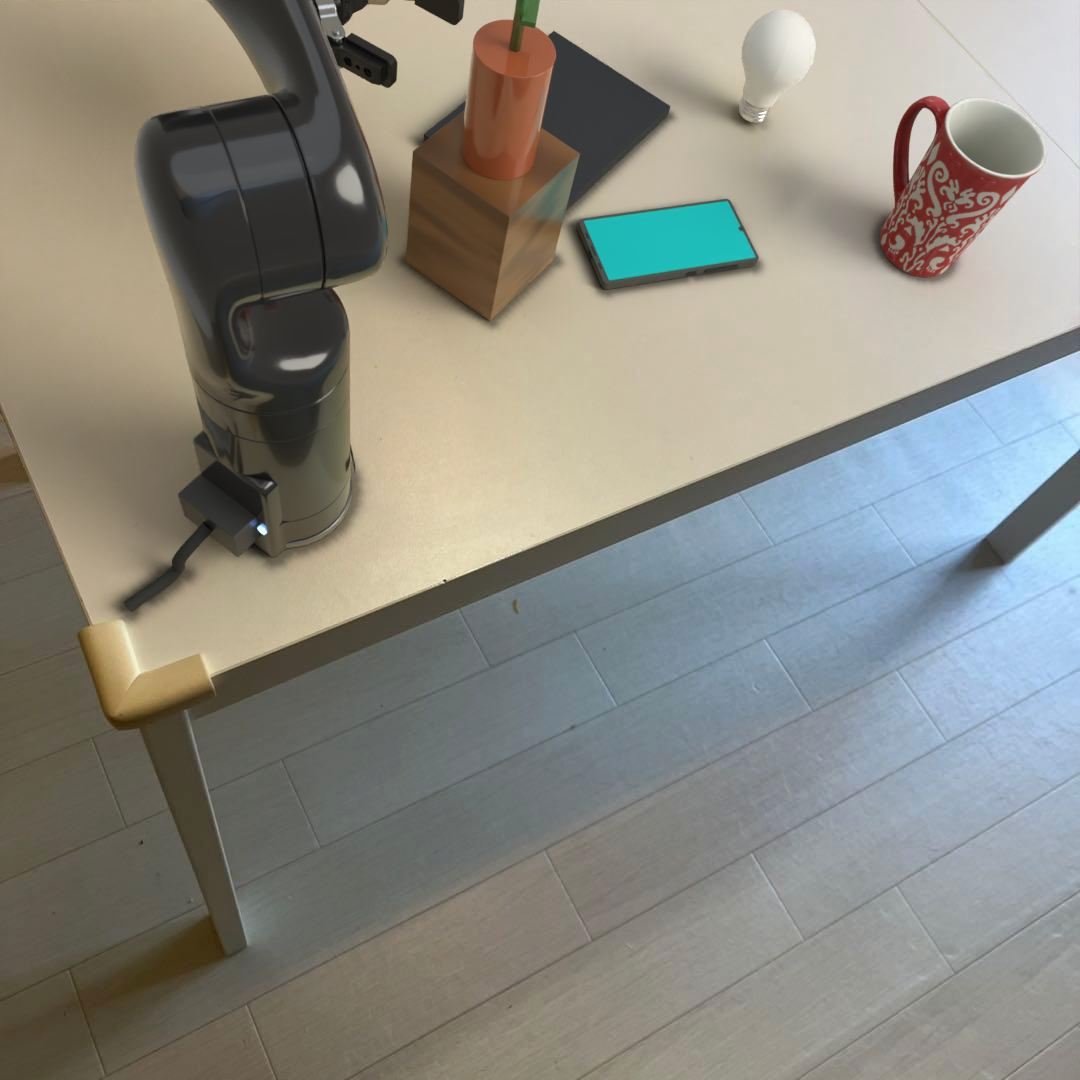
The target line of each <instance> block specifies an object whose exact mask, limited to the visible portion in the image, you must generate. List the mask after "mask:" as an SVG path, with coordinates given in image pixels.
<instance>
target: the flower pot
mask: <svg viewBox="0 0 1080 1080" xmlns="http://www.w3.org/2000/svg"><path fill="white" fill-rule="evenodd" d="M540 3H541V0H515V4H514V5H515V6H514V12H513V19H497V20H493V21H490V22H487V23H485V24H484V25H482V26H481V27H480V28H479V29H478V30H477V31H476V33H474V36H473V40H472V48H471V56H470V65H469V72H468V73H469V74H468V81H467V89H466V90H467V91H466V98H465V101H466V106H465V114H464V123H463V131H462V139H461V154H462V157H463V159H464V161H465V162H466V163H467V165H468V166H469V167H470V168H471V169H473V170H474V171H475V172H477V173H478V174H480V175H482V176H485V177H488V178H491V179H496V180H510V179H515V178H518V177H521V176H523V175H524V174H526V173H527V172H528V171H529V170H530V169H531V168H532V166H533V164H534V161H535V157H536V152H537V147H538V142H539V137H540V132H541V127H542V123H543V118H544V113H545V108H546V103H547V98H548V93H549V88H550V84H551V79H552V74H553V69H554V64H555V59H556V50H555V47H554V44H553V42H552V41H551V39H550V38H549V37H548V34H546V32H544V31H543V30H542V29H540V28H539V27H536V26H537V20H538V16H539V8H540Z"/></svg>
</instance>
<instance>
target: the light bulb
mask: <svg viewBox="0 0 1080 1080" xmlns="http://www.w3.org/2000/svg"><path fill="white" fill-rule="evenodd" d="M816 41H817V40H816V36H815V33H814V30H813V28H812V26H811V24H810V23H809V22H808V20H806V18H805V17H803V15H801V14H799V13H798V12H795V11H792V10H788V9H777V10H772V11H769V12H767V13H764V14H763V15H762V16H760V17H759V18H757V19H756V20H755V21H754V22H753V23H752V24H751V26H750V27H749V29H748V30H747V32H746V34H745V36H744V39H743V41H742V46H741V63H742V66H743V72H744V77H745V81H744V85H743V87H742V96H741V99H740V101H739V104H738V113H739V114H740V116H741V117H742V118H743V119H744V120H745V121H748V122H750V123H754V124H755V123H756V124H758V123H762V122H763V121H765V120H766V119H767V117H768V115H769V112H770V111H771V108H772V106H773V105H774V104H775V103H776V102H777V100H778V99H779V97H780V95H782V94H783V93H784V92H785V91H787V90H788V89H790V88H791V87H793V86H795V85H797V84H798V83H799V82H801V80H803V79H804V77H805V76H806V75H807V74H808V72H809V71H810V69H811V68H812V66H813V63H814V60H815V56H816V51H817V43H816Z"/></svg>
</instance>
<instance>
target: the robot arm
mask: <svg viewBox="0 0 1080 1080" xmlns="http://www.w3.org/2000/svg"><path fill="white" fill-rule="evenodd" d="M206 1H207V2H208V4H209V5H210V6H211V7H212V8H213V9H214V10H215V12H216V13H217V14H218V16H219V17H220V18H221V19H222V20H223V22H224V23H225V24H226V26H227V27H228V28H229V30H230V31H231V33H232V34H233V35H234V37H235V38H236V40H237V41H238V43H239V45H240V46H241V47H242V49H243V51H244V52H245V54H246V56H247V57H248V59H249V61H250V63H251V65H252V66H253V68H254V69H255V71H256V73H257V75H258V77H259V79H260V81H261V83H262V85H263V87H264V88H265V91H266V93H267V94H261V95H255V96H250V97H244V98H239V99H233V100H227V101H221V102H215V103H209V104H205V105H197V106H191V107H186V108H180V109H175V110H168V111H164V112H159V113H157V114H154V115H151V116H149V117H148V118H146V119H145V120H144V122H143V123H142V124H141V125H140V127H139V129H138V131H137V134H136V139H135V143H134V171H135V176H136V182H137V188H138V192H139V198H140V201H141V205H142V208H143V211H144V215H145V219H146V221H147V225H148V228H149V232H150V234H151V238H152V241H153V243H154V246H155V249H156V252H157V256H158V258H159V261H160V263H161V264H160V265H161V267H162V270H163V273H164V276H165V279H166V282H167V285H168V287H169V291H170V294H171V299H172V302H173V306H174V310H175V315H176V319H177V323H178V327H179V331H180V335H181V340H182V345H183V350H184V355H185V359H186V362H187V366H188V370H189V373H190V378H191V382H192V386H193V390H194V395H195V399H196V403H197V408H198V411H199V412H198V413H199V416H200V421H201V425H202V428H203V429H202V430H201V431H199V432H198V433H197V434H196V435H194V437H193V438H192V445H193V448H194V452H195V456H196V460H197V464H198V468H199V471H200V473H199V474H198V475H197V476H196V477H195V478H193V479H192V480H191V481H190V482H189V483H188V484H187V485H186V486H185V487H184V488H182V489H181V490H180V491H179V492H178V493H177V497H178V499H179V503H180V506H181V509H182V512H183V515H184V517H186V518H187V519H188V520H189V521H191V522H192V523H193V524H194V525H196V526H197V528H196V529H195V531H194V532H193V533H191V535H190V536H189V537H188V538H187V539H185V541H184V542H183V543H182V545H181V546H180V547H179V548H178V549H177V551H176V552H175V553H174V555H173V557H172V558H171V566H170V567H169V568H168V569H167V570H166V571H165V572H163V573H162V574H161V575H160V576H158V578H156V579H155V580H153V581H152V582H151V583H149V584H148V585H147V586H144V587H143V588H141V589H140V590H139V591H137V592H135V593H134V594H132V595H131V596H129V597H128V598H127V599H126V600H124V601H123V602H122V603H123V605H124V607H125V608H127V609H128V611H130V612H131V613H133V612H134V611H135V610H137V609H138V608H140V607H141V606H142V605H144V604H146V603H147V602H148V601H150V600H152V599H153V598H154V597H156V596H157V595H159V594H160V593H162V592H163V591H164V590H166V589H167V588H168V587H169V586H171V585H172V584H174V583H175V581H176V580H177V579H178V578H179V577H180V576H181V575H182V574H183V572H184V571H185V569H186V562H187V561H188V559H189V558H190V557H191V556H192V555H193V553H194V552H195V551H196V550H197V549H198V548H199V547H200V545H201V544H202V543H203V542H204V541H205V540H206V539H207V538H208V537H211V538H212V539H214V540H215V541H216V542H218V543H219V544H220V545H221V546H223V547H224V548H225V549H226V550H228V551H229V553H231V554H233V555H234V556H235V557H236V558H239V557H241V556H242V554H244V553H245V552H246V551H247V550H248V549H249V548H250V547H251V546H252V545H253V544H255V545H256V546H257V547H259V549H261V550H262V551H263V552H264V553H266V554H267V555H269V556H270V557H271V558H276V557H278V556H279V555H280V554H282V552H283V551H285V550H286V549H292V548H299V547H300V548H301V547H305V546H307V545H310V544H313V543H315V542H318V541H320V540H321V539H323V538H325V537H327V536H328V535H329V534H331V533H332V532H333V531H334V530H335V529H336V528H337V527H338V526H339V525H340V524H341V523H342V521H343V520H344V518H345V517H346V515H347V513H348V512H349V511H348V510H349V509H350V506H351V503H352V497H353V480H352V474H351V472H352V471H351V469H352V468H351V467H353V471H354V473H356V463H355V457H354V453H353V449H352V443H351V331H350V320H349V317H348V314H347V311H346V308H345V306H344V304H343V302H342V300H341V298H340V296H339V295H338V293H337V292H336V290H335V289H334V288H337V287H338V288H339V287H341V286H344V285H349V284H354V283H357V282H360V281H363V280H365V279H367V278H370V277H372V276H375V274H377V272H379V271H380V270H381V268H382V267H383V265H384V263H385V261H386V258H387V254H388V243H389V242H388V241H389V226H388V220H387V219H388V218H387V211H386V205H385V200H384V197H383V193H382V188H381V184H380V180H379V176H378V172H377V169H376V166H375V163H374V159H373V157H372V154H371V151H370V148H369V144H368V142H367V139H366V136H365V133H364V131H363V128H362V125H361V122H360V120H359V117H358V114H357V111H356V109H355V106H354V104H353V101H352V100H353V99H352V98H351V96H350V92H349V90H348V88H347V85H346V83H345V80H344V77H343V75H342V72H341V69H345V70H346V71H348V72H350V73H352V74H353V75H356V76H357V77H359V78H360V79H363V80H365V81H366V82H368V83H370V84H372V85H375V86H381V87H384V88H386V89H389V88H391V87H392V86H393V85H394V84H395V83H396V82H397V80H398V60H397V58H396V57H395V56H394V55H393V54H391V53H390V52H388V51H386V50H384V49H382V48H380V47H379V46H377V45H375V44H373V43H372V42H370V41H368V40H366V39H365V38H363V37H360V36H358V34H355V33H353V32H351V33H349V34H348V35H347V36H346V31H345V29H344V26H345V25H346V24H347V23H348V22H349V21H350V20H351V19H352V17H353V16H354V14H355V13H357V12H359V11H362V10H363V9H364V8H366V6H368V5H373V6H385V5H387V4H388V3H389V2H390V0H206ZM406 1H408V2H409V1H410V2H414V5H415V6H417V7H418V8H421V9H423V10H424V11H426V12H428V13H429V14H431V15H433V16H434V17H437V18H438V19H441V20H442V21H444V22H446V23H448V24H450V25H451V26H457V25H458V24H459V23H460V22H461V21H462V20H463V19H464V11H465V9H464V8H465V0H406ZM351 462H352V465H351Z"/></svg>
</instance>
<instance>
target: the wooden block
mask: <svg viewBox="0 0 1080 1080" xmlns="http://www.w3.org/2000/svg"><path fill="white" fill-rule="evenodd" d="M464 114H465V110H464V111H462V112H461V113H460V114H459V115H457V116H456V117H455V118H454V119H452V120H451V121H450V122H449V123H447V124H446V125H445V126H444V127H442V128H441V129H440V130H439V131H437V132H436V133H435V134H434V135H432V136H431V137H430V138H429V139H427V140H426V141H425V142H424V143H423V142H422V143H421V144H420V145H418V146H417V147H416V148H415V149H414V150H412V162H411V173H410V186H409V187H410V188H409V189H410V190H409V205H408V219H407V235H406V247H405V248H406V249H405V263H406V264H408V265H409V266H410V267H412V268H414V269H415V270H416V271H417V272H419V273H420V274H422V275H423V276H424V277H426V278H428V279H429V280H431V281H432V282H433V283H435V284H436V285H438V286H439V287H440V288H441V289H443V290H445V291H446V292H447V293H448V294H450V295H452V296H453V297H455V298H456V299H457V300H459V301H460V302H462V303H463V304H464V305H466V306H467V307H468V308H470V309H471V310H473V311H474V312H476V313H477V314H478V315H480V316H481V317H483V318H484V319H486V320H487V321H489V322H491V321H492V320H494V318H495V317H497V316H498V314H499V313H501V312H502V311H503V310H504V309H505V308H506V307H507V306H509V304H510V303H511V302H512V301H513V300H514V299H515V298H516V297H517V296H518V295H519V294H520V293H521V292H522V291H523V290H525V288H526V287H528V286H529V284H530V283H532V282H533V280H535V279H536V278H537V277H538V276H539V275H540V274H541V273H542V272H543V271H544V270H545V269H546V268H547V267H548V266H549V265H551V263H552V262H553V261H554V259H555V254H556V251H557V247H558V242H559V239H560V235H561V230H562V226H563V222H564V219H565V216H566V212H567V211H566V207H567V203H568V199H569V195H570V191H571V187H572V184H573V180H574V176H575V172H576V168H577V164H578V160H579V156H580V153H578V152H577V151H575V150H574V149H572V148H571V147H569V146H568V145H566V144H565V143H563V142H562V141H560V140H559V139H557V138H556V137H554V136H553V135H551V134H550V133H548V132H547V131H545V130H544V129H542V128H541V132H540V137H539V142H538V147H537V152H536V157H535V161H534V164H533V166H532V168H531V169H530V170H529V171H528V172H527V173H526V174H524V175H523V176H521V177H518V178H515V179H510V180H496V179H491V178H488V177H485V176H482V175H480V174H478V173H477V172H475V171H474V170H473V169H471V168H470V167H469V166H468V165H467V163H466V162H465V161H464V159H463V157H462V154H461V139H462V131H463V123H464ZM565 211H566V212H565Z"/></svg>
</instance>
